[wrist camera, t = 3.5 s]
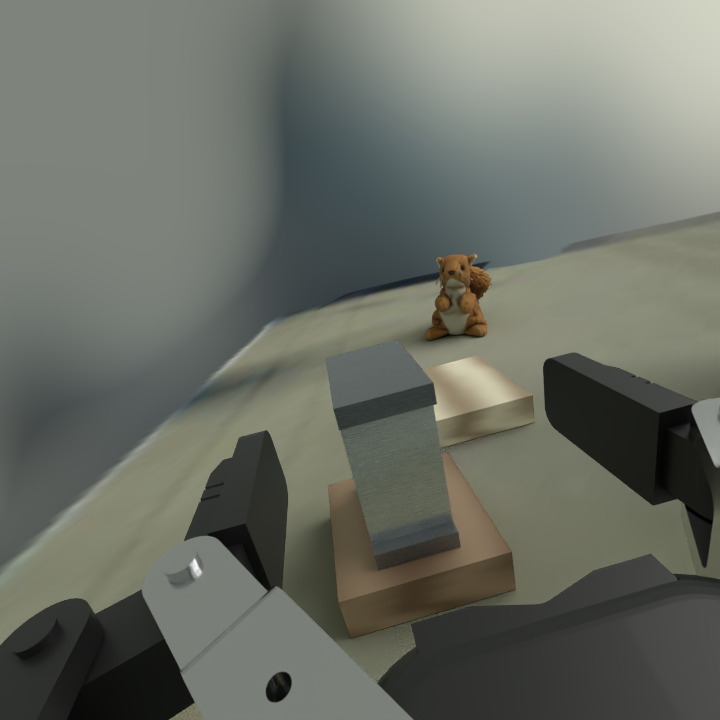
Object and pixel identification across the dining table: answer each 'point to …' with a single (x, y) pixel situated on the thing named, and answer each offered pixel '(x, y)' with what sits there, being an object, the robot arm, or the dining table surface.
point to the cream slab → (476, 401)
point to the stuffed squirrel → (459, 298)
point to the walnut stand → (416, 562)
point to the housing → (393, 451)
